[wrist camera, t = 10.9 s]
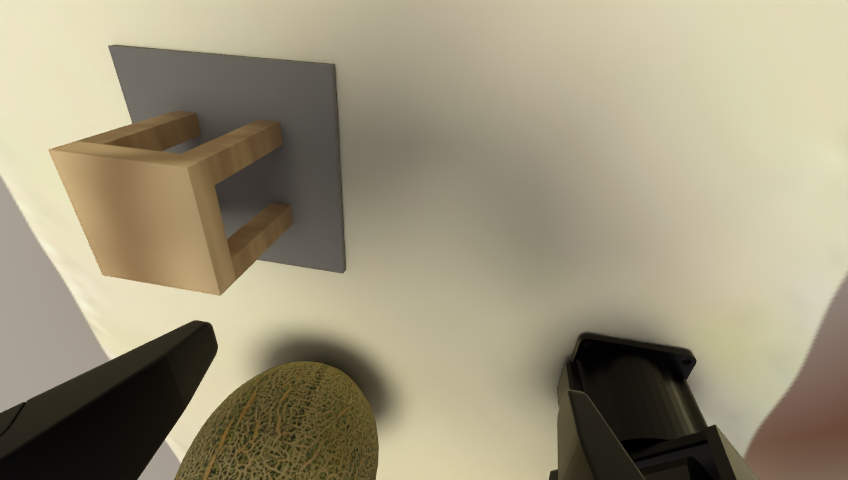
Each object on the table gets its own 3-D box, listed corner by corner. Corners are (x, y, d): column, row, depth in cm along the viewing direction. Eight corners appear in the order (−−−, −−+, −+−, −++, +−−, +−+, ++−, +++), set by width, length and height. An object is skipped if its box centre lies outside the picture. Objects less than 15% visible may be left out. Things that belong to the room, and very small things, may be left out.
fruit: (259, 404, 34) (112, 637, 22) (257, 308, 29) (53, 549, 16) (386, 444, 34) (311, 707, 21) (411, 353, 28) (327, 642, 15)
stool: (280, 121, 21) (187, 167, 15) (293, 223, 24) (220, 295, 18) (176, 110, 22) (48, 149, 16) (201, 210, 25) (102, 275, 19)
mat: (334, 64, 19) (331, 65, 19) (345, 269, 25) (343, 273, 25) (114, 44, 21) (108, 45, 20) (175, 242, 27) (170, 245, 27)
